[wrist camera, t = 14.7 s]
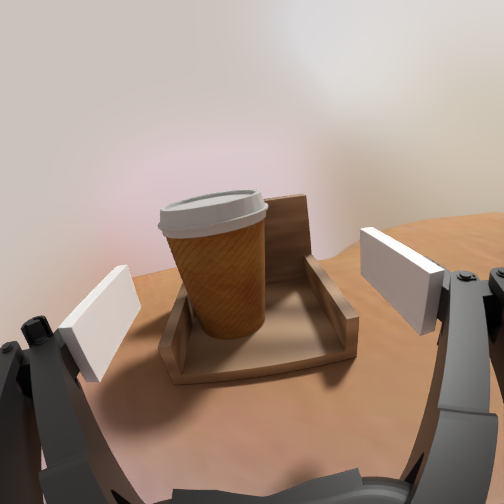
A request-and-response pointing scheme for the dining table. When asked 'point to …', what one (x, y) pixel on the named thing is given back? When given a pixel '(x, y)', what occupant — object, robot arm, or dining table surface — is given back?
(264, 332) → the cradle
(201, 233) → the disposable coffee cup
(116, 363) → the dining table surface
